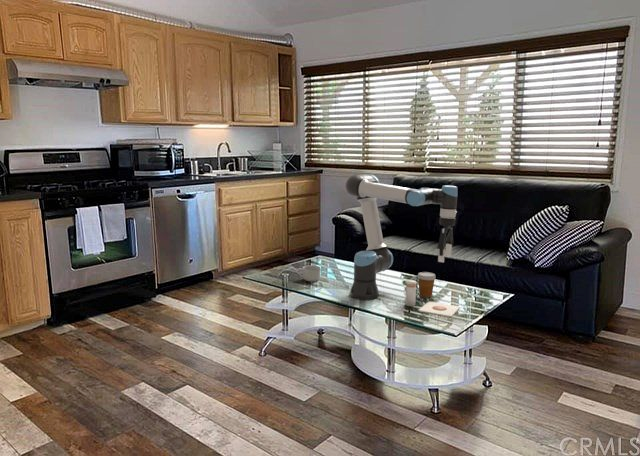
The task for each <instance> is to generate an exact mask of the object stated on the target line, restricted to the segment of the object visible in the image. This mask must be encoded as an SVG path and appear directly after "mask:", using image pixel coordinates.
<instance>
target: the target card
mask: <svg viewBox="0 0 640 456" xmlns="http://www.w3.org/2000/svg"><path fill="white" fill-rule="evenodd" d="M460 308H461V306H458V305H453V304H447V303H441V302H435V301H430V300H429V301H428V302H426V303H425V304H424V305H422V306H421V307H420V308H419V309H418V312H419V313H426V314H431V315H437V316H443V317H448V318H452V317H453V316H454V315H455V314H456V313H457V312H458V311H459V310H460Z"/></svg>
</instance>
